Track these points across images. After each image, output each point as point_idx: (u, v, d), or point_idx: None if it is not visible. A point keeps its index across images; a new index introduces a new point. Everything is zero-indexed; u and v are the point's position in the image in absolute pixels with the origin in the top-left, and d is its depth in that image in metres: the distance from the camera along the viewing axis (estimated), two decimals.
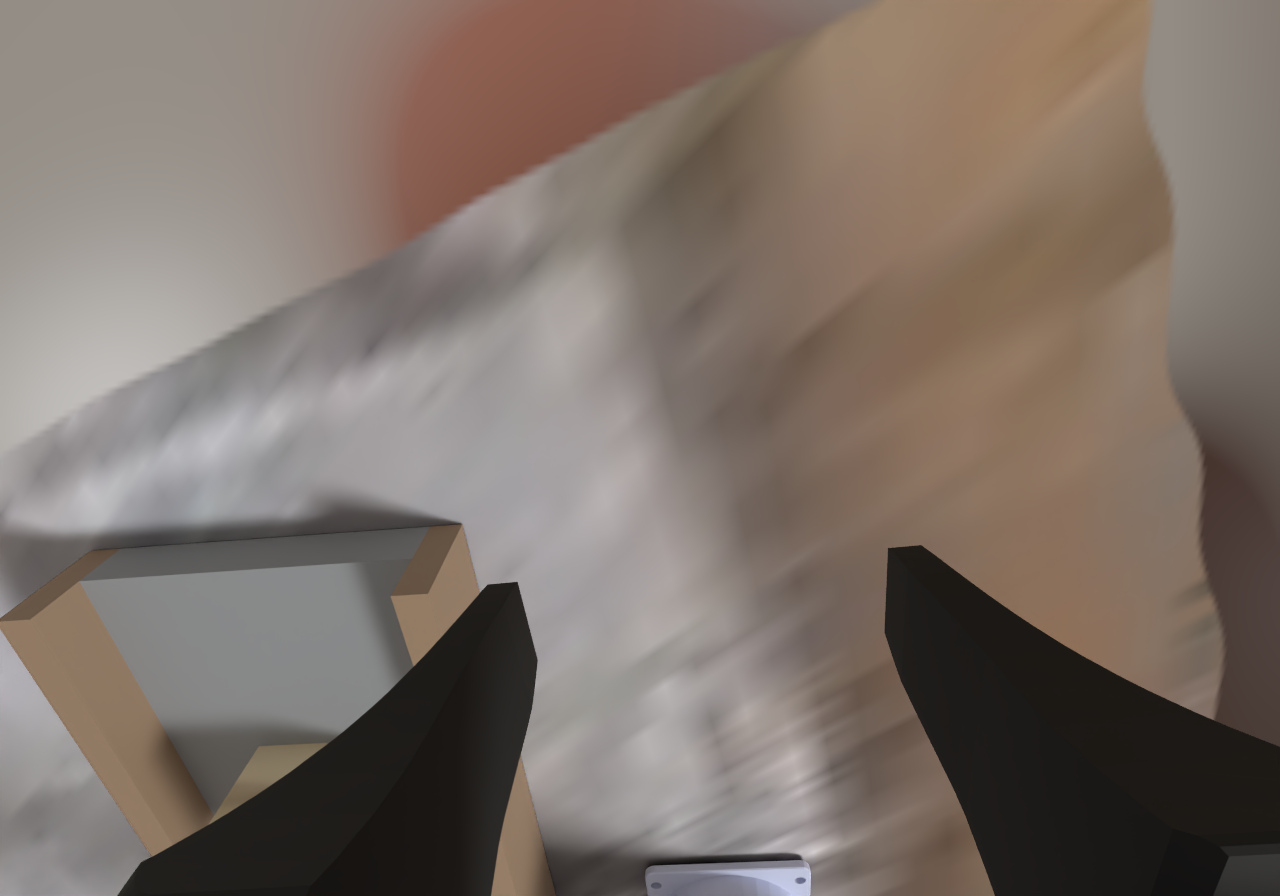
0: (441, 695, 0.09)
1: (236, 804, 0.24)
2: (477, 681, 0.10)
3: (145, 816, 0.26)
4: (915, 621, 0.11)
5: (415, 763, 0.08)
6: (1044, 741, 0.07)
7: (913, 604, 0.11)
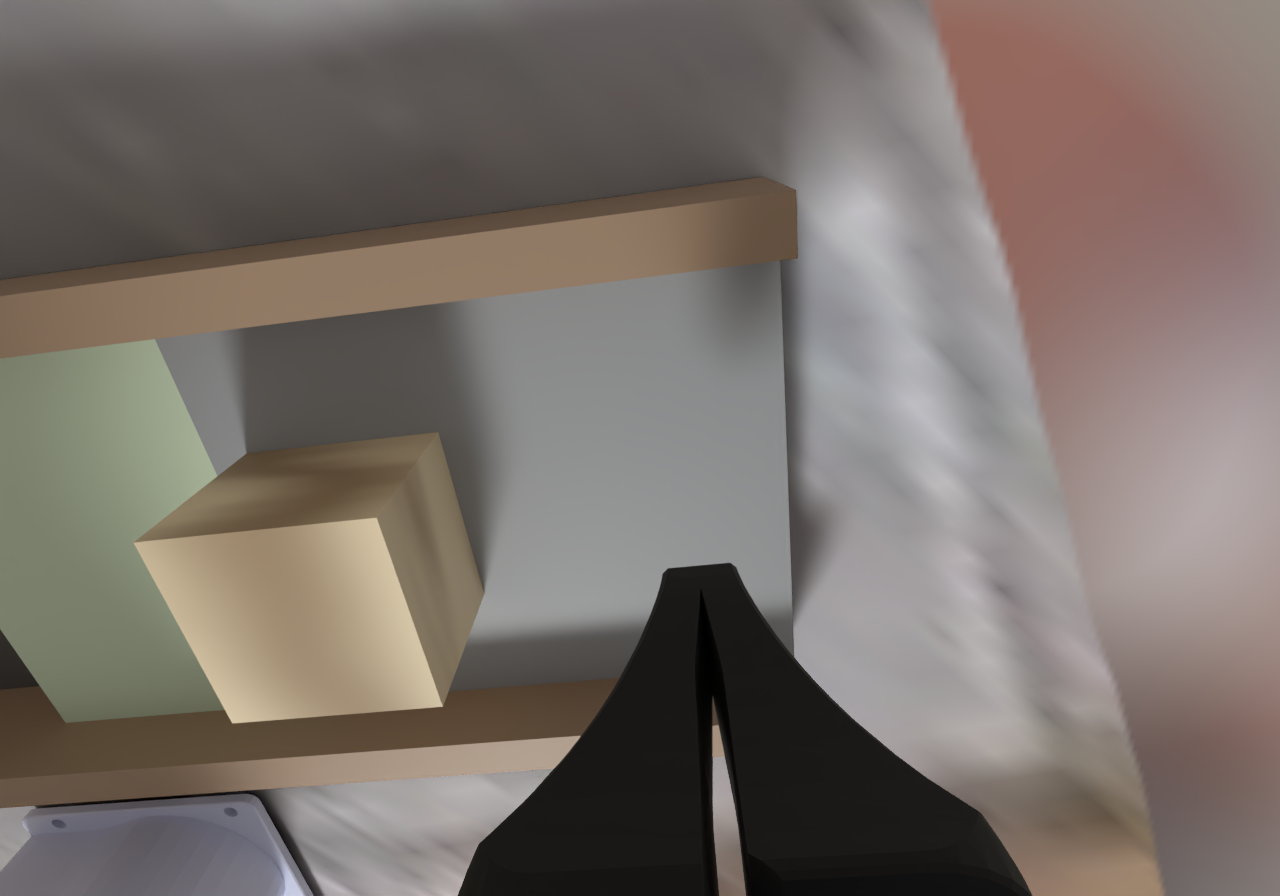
0: (686, 676, 0.09)
1: (410, 506, 0.14)
2: (699, 663, 0.10)
3: (296, 300, 0.13)
4: (708, 638, 0.11)
5: (697, 743, 0.08)
6: (734, 761, 0.08)
7: (706, 621, 0.11)
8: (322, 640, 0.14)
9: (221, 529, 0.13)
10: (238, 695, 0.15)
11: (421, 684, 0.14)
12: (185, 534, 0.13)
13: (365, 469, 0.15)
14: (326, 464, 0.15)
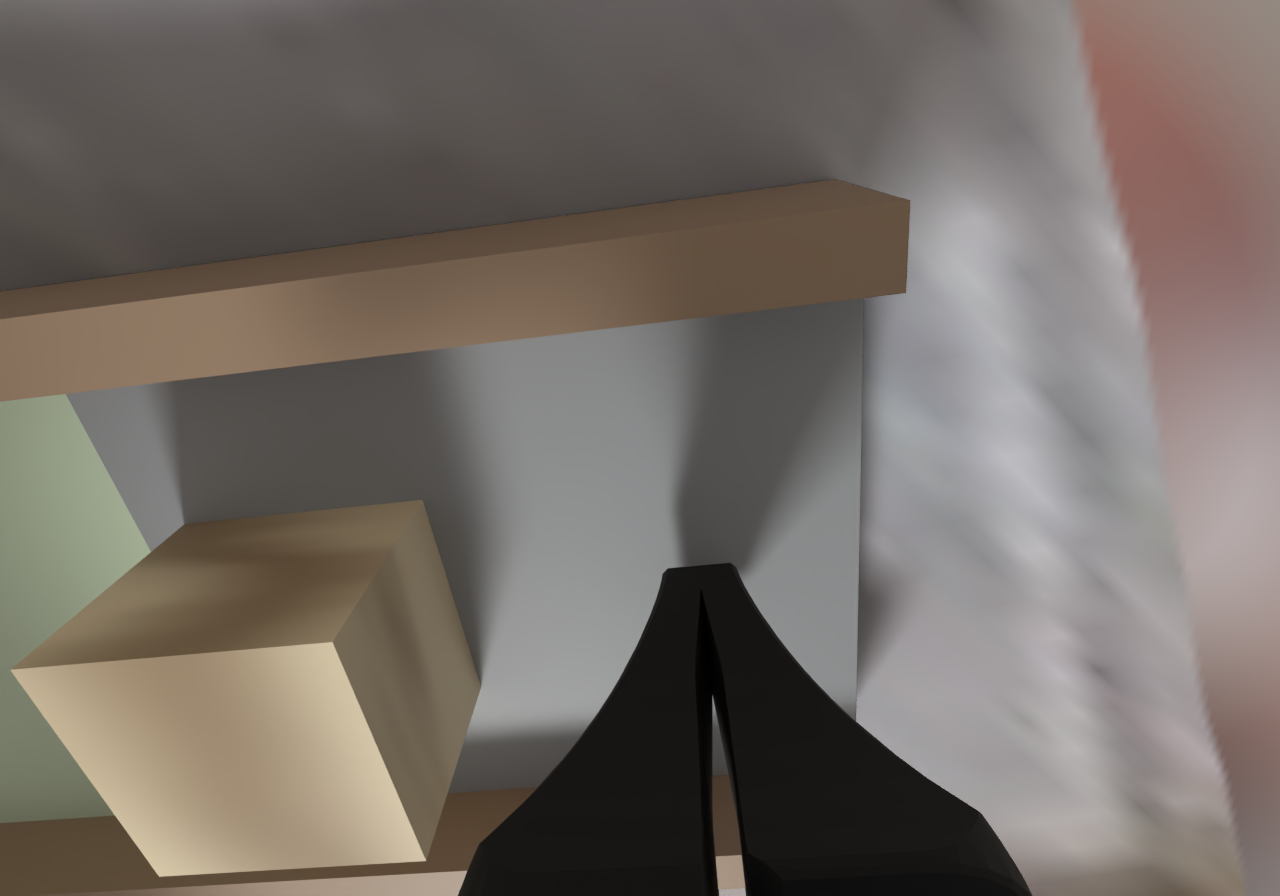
0: (685, 676, 0.09)
1: (382, 609, 0.11)
2: (699, 663, 0.10)
3: (225, 347, 0.10)
4: (708, 638, 0.11)
5: (697, 743, 0.08)
6: (734, 761, 0.08)
7: (706, 622, 0.11)
8: (268, 785, 0.11)
9: (128, 651, 0.10)
10: (164, 845, 0.12)
11: (398, 835, 0.11)
12: (79, 658, 0.10)
13: (327, 555, 0.12)
14: (279, 546, 0.12)
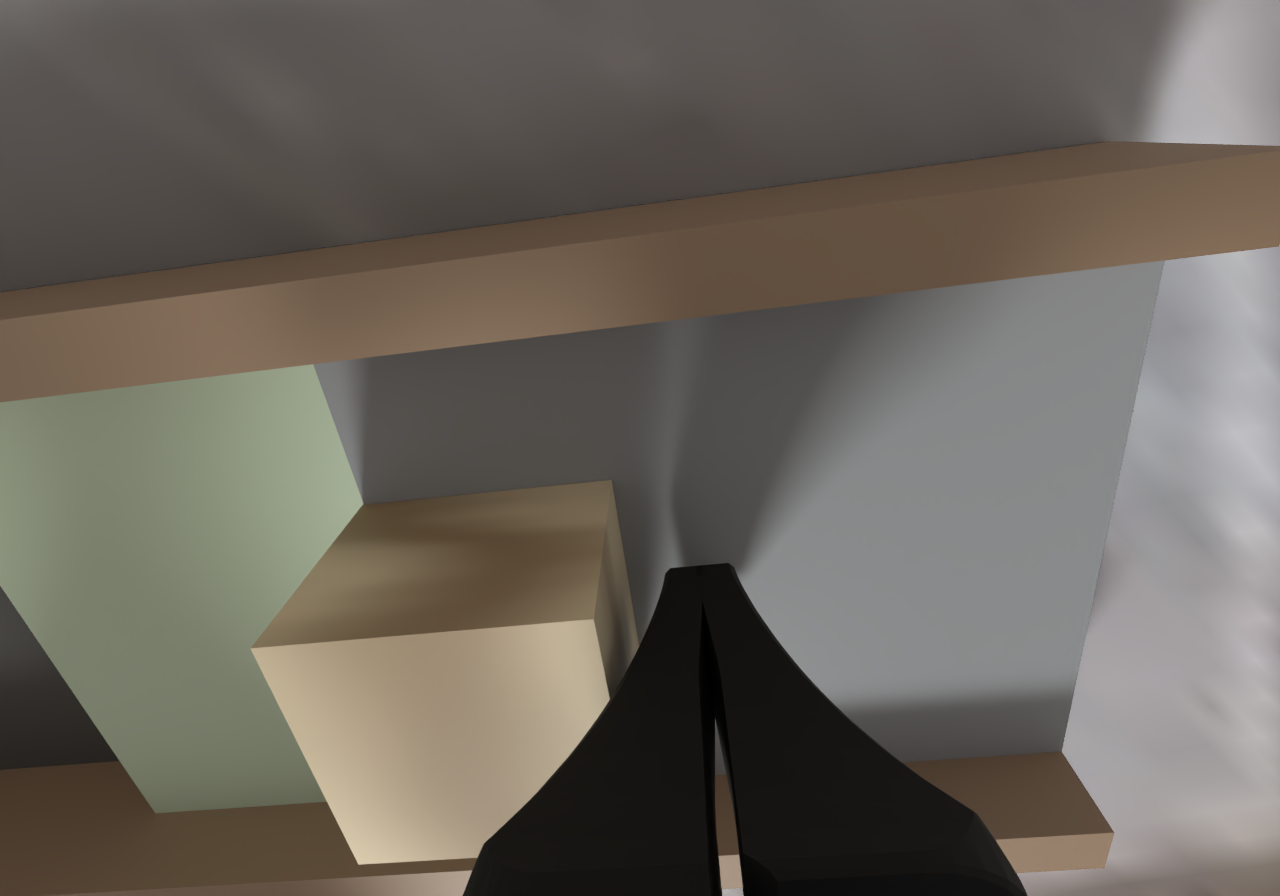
0: (689, 675, 0.09)
1: (607, 589, 0.11)
2: (702, 663, 0.10)
3: (548, 307, 0.09)
4: (706, 638, 0.11)
5: (701, 743, 0.08)
6: (731, 762, 0.08)
7: (703, 622, 0.11)
8: (493, 769, 0.10)
9: (371, 629, 0.09)
10: (370, 832, 0.11)
11: None
12: (321, 637, 0.09)
13: (538, 535, 0.11)
14: (479, 525, 0.12)
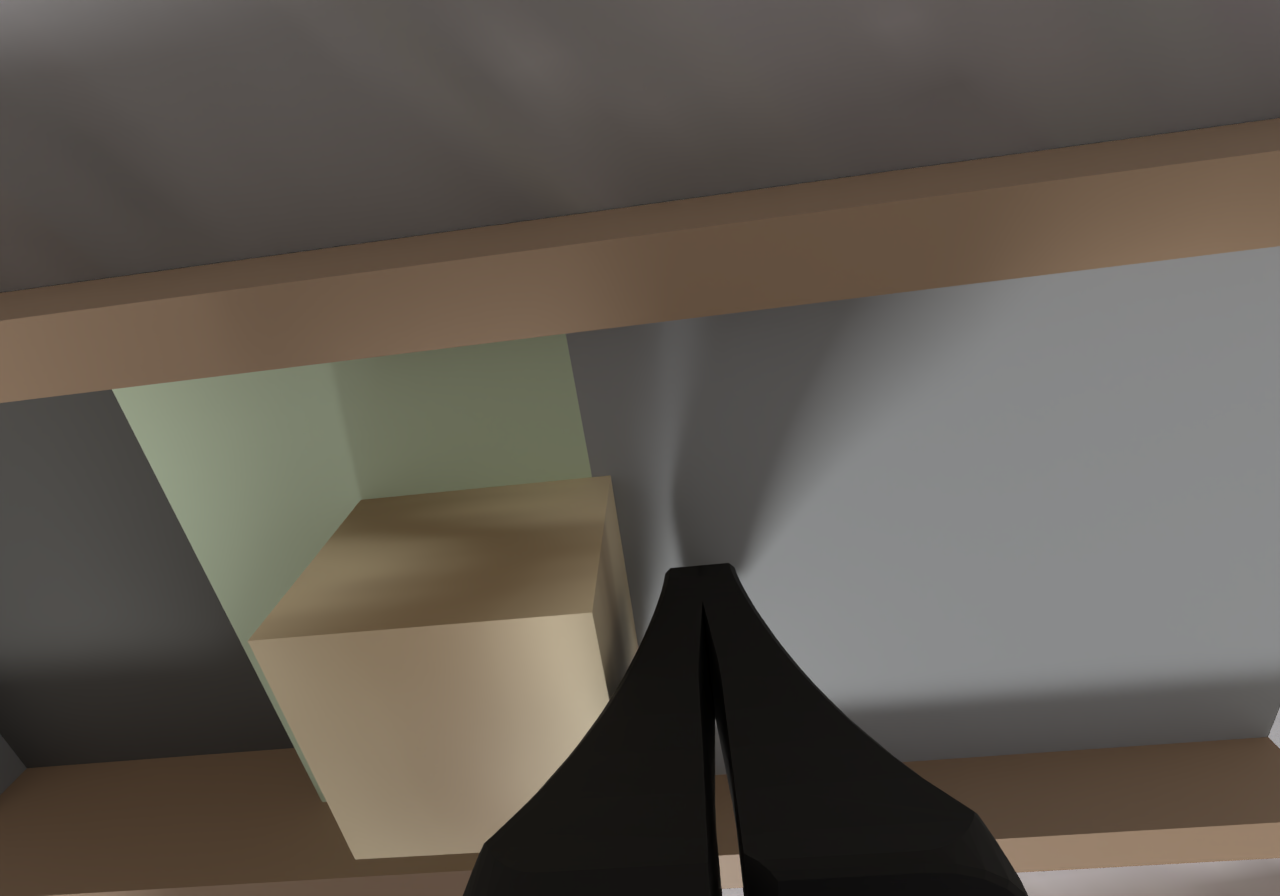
0: (689, 676, 0.09)
1: (605, 583, 0.11)
2: (702, 663, 0.10)
3: (882, 265, 0.09)
4: (706, 638, 0.11)
5: (701, 743, 0.08)
6: (731, 762, 0.08)
7: (704, 622, 0.11)
8: (490, 764, 0.10)
9: (369, 622, 0.09)
10: (367, 827, 0.11)
11: None
12: (319, 630, 0.09)
13: (537, 529, 0.11)
14: (477, 520, 0.12)
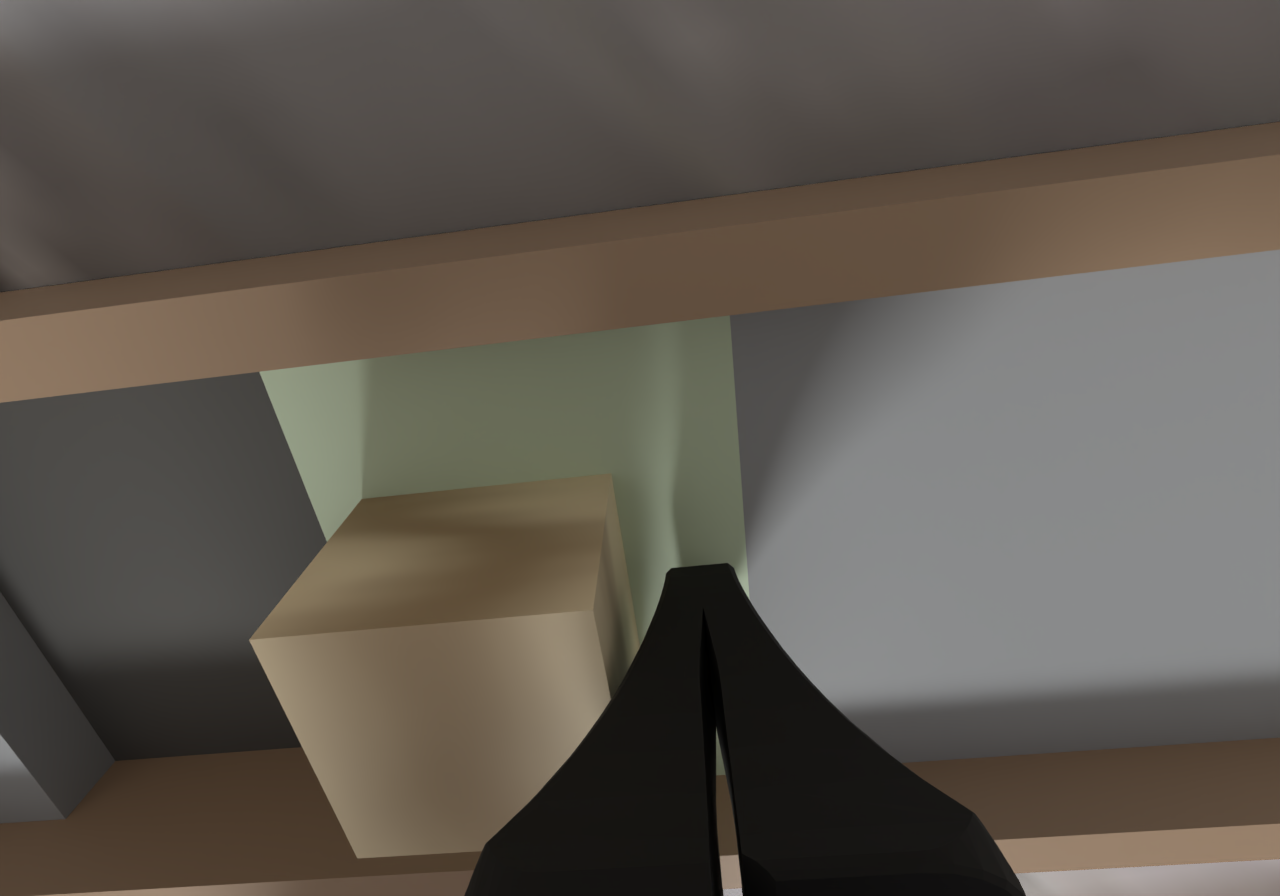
0: (690, 675, 0.09)
1: (606, 581, 0.11)
2: (703, 663, 0.10)
3: (1101, 240, 0.09)
4: None
5: None
6: None
7: None
8: (492, 762, 0.10)
9: (370, 621, 0.09)
10: (369, 826, 0.11)
11: None
12: (320, 628, 0.09)
13: (538, 527, 0.11)
14: (478, 518, 0.12)
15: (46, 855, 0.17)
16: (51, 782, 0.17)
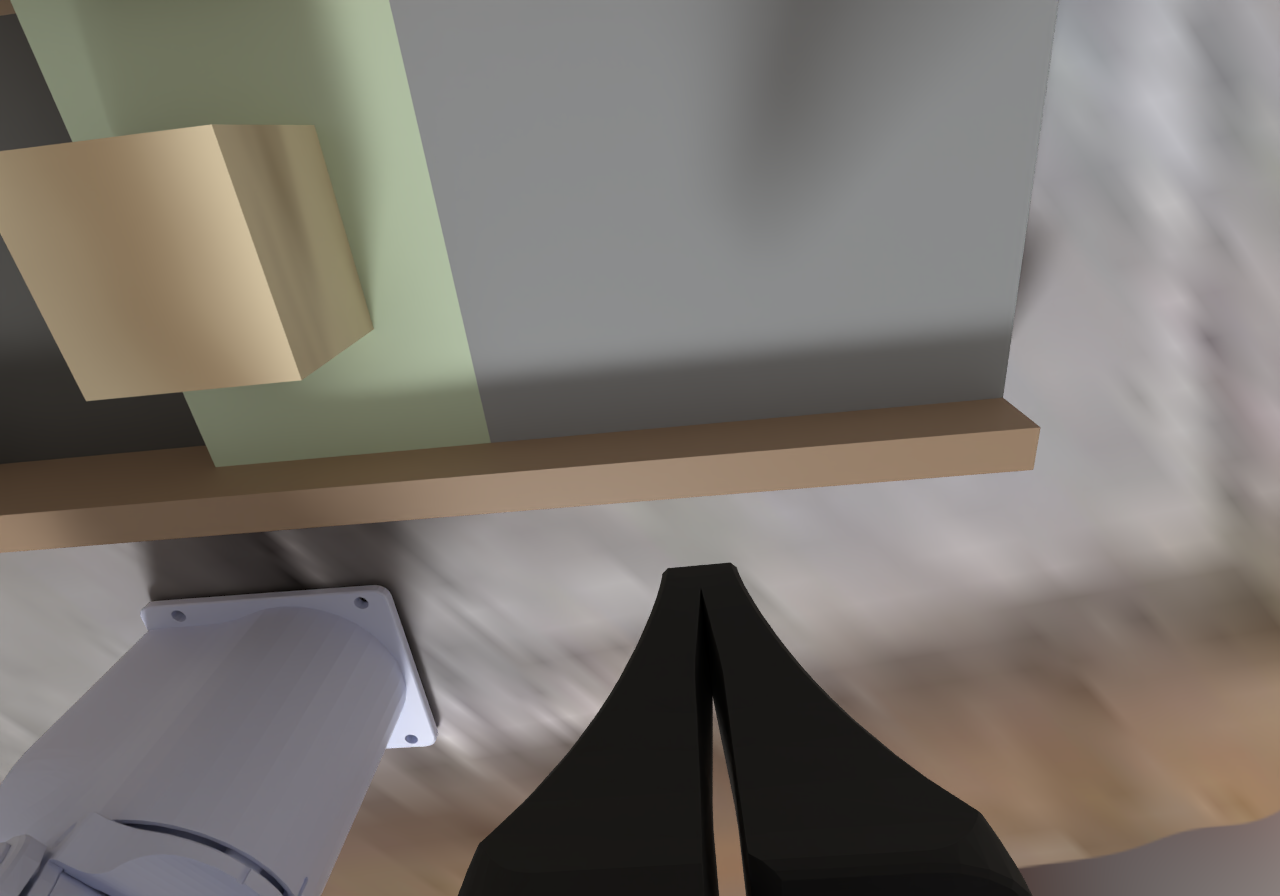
0: (686, 676, 0.09)
1: (265, 156, 0.14)
2: (699, 663, 0.10)
3: None
4: (708, 638, 0.11)
5: (697, 743, 0.08)
6: (734, 761, 0.08)
7: (706, 622, 0.11)
8: (169, 290, 0.13)
9: (54, 145, 0.12)
10: (89, 364, 0.14)
11: (276, 349, 0.14)
12: (16, 149, 0.12)
13: None
14: None
15: None
16: None
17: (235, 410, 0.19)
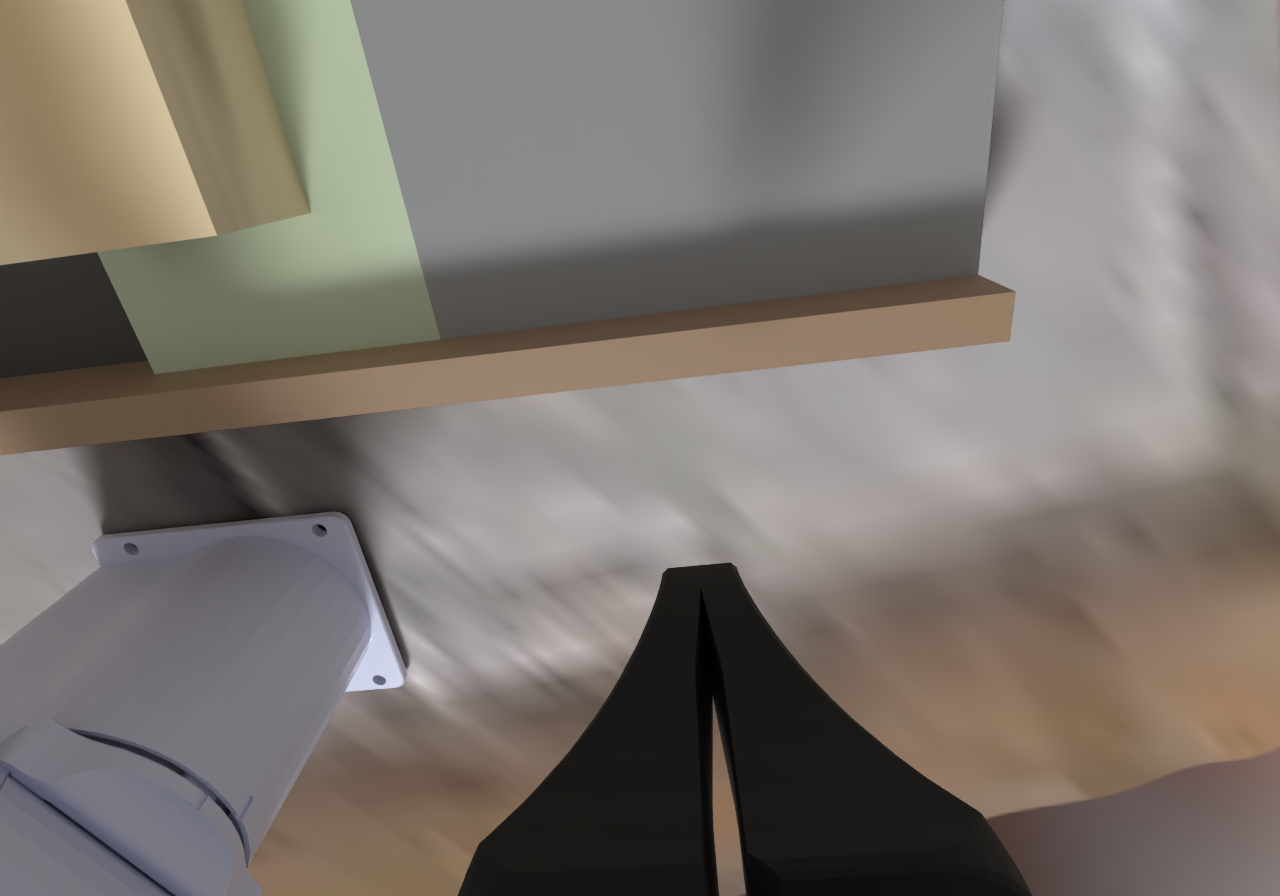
0: (685, 676, 0.09)
1: None
2: (699, 663, 0.10)
3: None
4: (708, 638, 0.11)
5: (697, 743, 0.08)
6: (734, 761, 0.08)
7: (705, 622, 0.11)
8: (68, 132, 0.13)
9: None
10: None
11: (188, 200, 0.13)
12: None
13: None
14: None
15: None
16: None
17: (171, 309, 0.18)
